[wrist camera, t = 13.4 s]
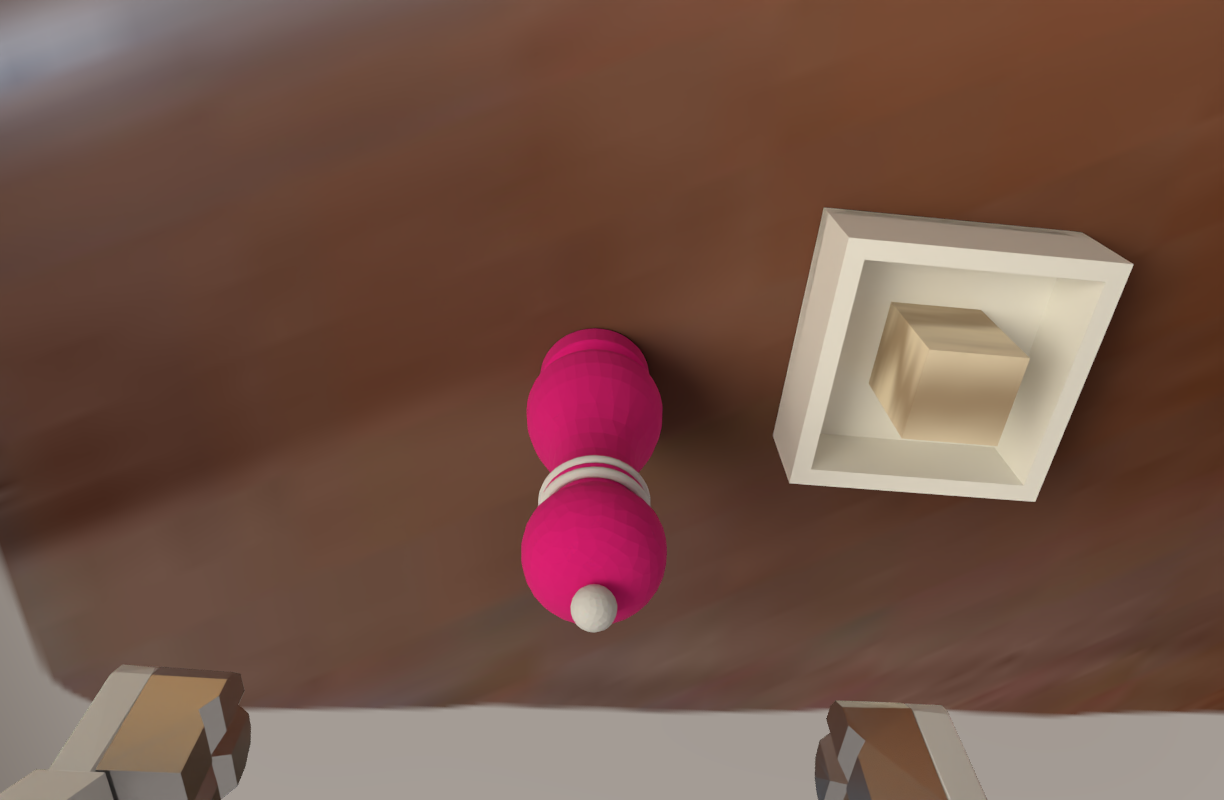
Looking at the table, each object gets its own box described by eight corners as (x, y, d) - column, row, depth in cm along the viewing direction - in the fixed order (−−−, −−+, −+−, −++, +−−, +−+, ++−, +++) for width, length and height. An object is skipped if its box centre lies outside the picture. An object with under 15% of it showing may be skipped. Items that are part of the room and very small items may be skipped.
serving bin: (823, 207, 44) (848, 237, 40) (1081, 232, 45) (1133, 264, 41) (772, 435, 51) (789, 483, 47) (998, 453, 52) (1035, 501, 47)
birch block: (891, 301, 46) (929, 349, 41) (980, 309, 46) (1030, 358, 41) (868, 383, 48) (901, 438, 43) (953, 390, 49) (997, 446, 43)
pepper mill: (533, 315, 47) (496, 542, 29) (663, 323, 47) (703, 552, 30) (530, 427, 50) (494, 690, 33) (651, 433, 51) (680, 697, 33)
